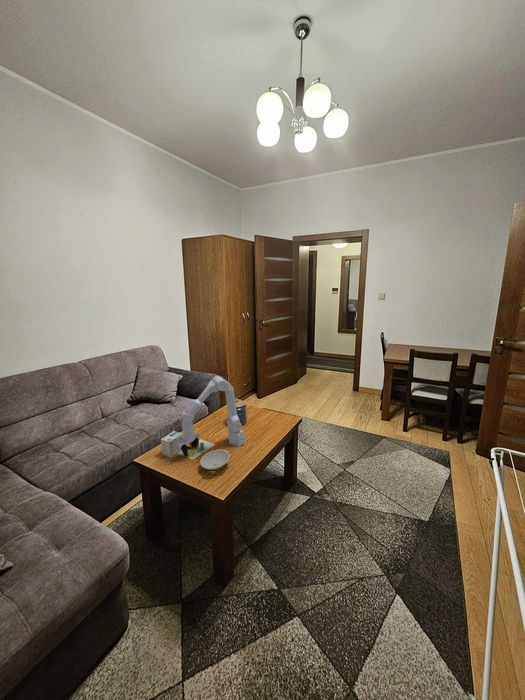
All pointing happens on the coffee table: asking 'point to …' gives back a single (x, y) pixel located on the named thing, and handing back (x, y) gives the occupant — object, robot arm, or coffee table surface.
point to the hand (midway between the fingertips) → (189, 453)
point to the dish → (214, 459)
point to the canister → (241, 411)
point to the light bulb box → (171, 443)
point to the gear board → (200, 449)
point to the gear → (191, 450)
